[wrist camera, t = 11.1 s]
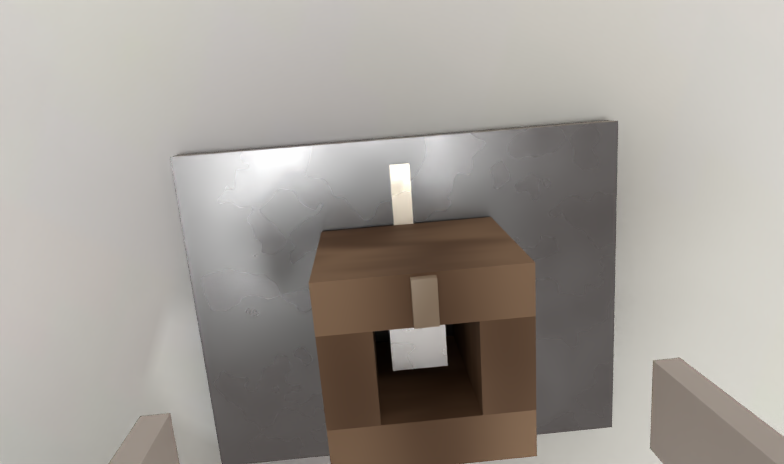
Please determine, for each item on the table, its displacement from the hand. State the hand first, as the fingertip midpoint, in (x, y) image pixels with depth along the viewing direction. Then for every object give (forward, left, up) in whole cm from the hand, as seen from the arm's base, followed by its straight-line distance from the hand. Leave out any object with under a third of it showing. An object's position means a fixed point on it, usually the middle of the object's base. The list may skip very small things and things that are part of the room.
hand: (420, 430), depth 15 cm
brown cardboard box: (+1, 0, -9) cm, 9 cm away
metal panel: (0, 0, -10) cm, 10 cm away
